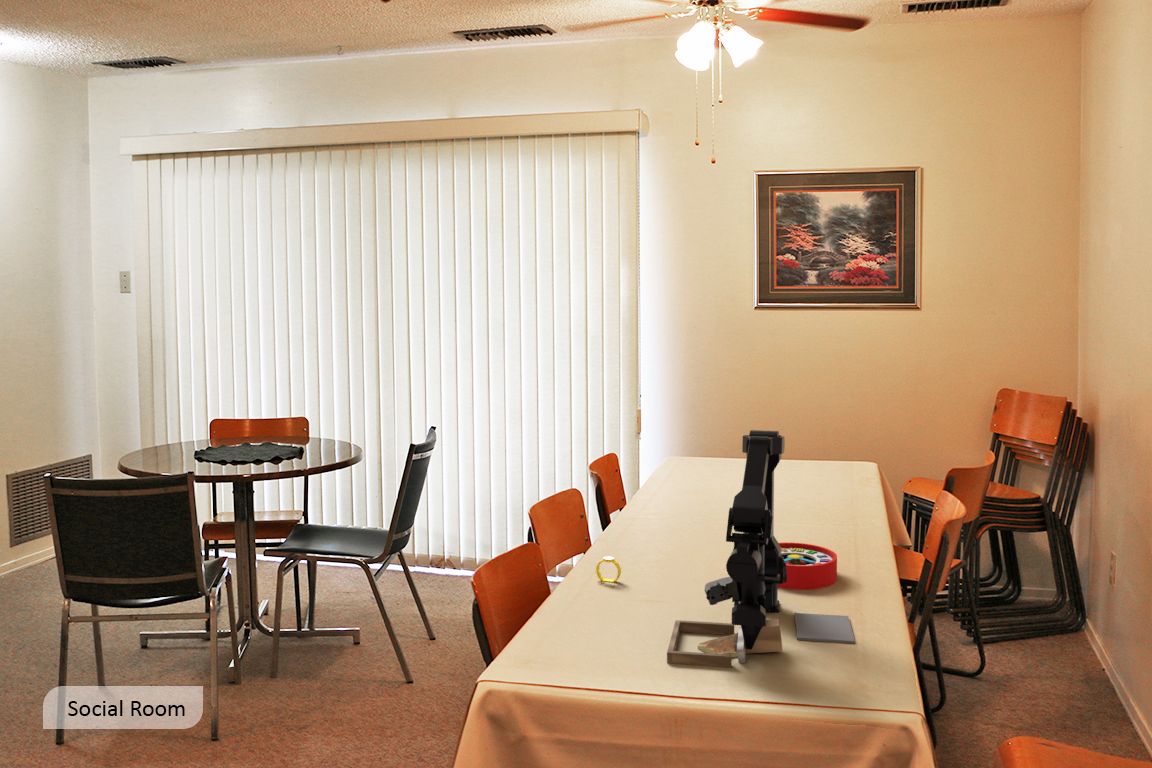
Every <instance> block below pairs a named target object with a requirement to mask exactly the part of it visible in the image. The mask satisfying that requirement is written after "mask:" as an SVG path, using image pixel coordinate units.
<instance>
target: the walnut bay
mask: <svg viewBox="0 0 1152 768" xmlns="http://www.w3.org/2000/svg"><path fill="white" fill-rule="evenodd" d="M681 632H682V633H683V632H684V633H696V634H697V633H698V634H710V635H711V634H712V635H713V634H714V635H726V636H729V635H732V634H735V625H733V624H732V622H730V623H728V622H711V621H710V622H709V621H694V620H681V619H679V620H678V619H675V621H674V625H673V628H672V632H671V635H670V636H671V637H670V640H669V643H668V648H667V651H666V663H667V664H678V665H679V664H680V665H694V666H695V665H696V666H707V667H708V666H709V667H723V668H732V663H733V662H732V661H733V657H732V655H727V654H712V653H705V652H698V651H697V652H693V651H680V650H676V649H677V646H678V641H679V639H680V638H679V637H680V633H681Z"/></svg>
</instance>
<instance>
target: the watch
mask: <svg viewBox="0 0 1152 768" xmlns="http://www.w3.org/2000/svg"><path fill="white" fill-rule="evenodd" d="M603 562H604V563H612V564H614V566H615V567H616V569H617V575H616V578H615V579H609V578H605V577H604V576H603V575H601V571H600V566H601V564H602V563H603ZM595 573H596V575H597V577H598V579H599V580H600V582H604V583H605V582H606V583H615V582H617V581H618V580H619V579H620V577H621V574H622V567H621V565H620V564H619V562H618V561H617V560H616V559H615V557H613V556H611V555H610V556H603V557H602V559H601V560H599V561H598V563H597V565H596V566H595Z"/></svg>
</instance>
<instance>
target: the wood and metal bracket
mask: <svg viewBox="0 0 1152 768" xmlns="http://www.w3.org/2000/svg"><path fill="white" fill-rule="evenodd" d="M737 633H738V642H737V655H738V657H737V661H738V664H743V663H744V664H745V663H746V654H758V653H759V654H761V653H772V652H773V653H775V652H776V653H777V652H783V642H782V635H781V634H782V633H781V627H780V619H779V618H778V619H766V626H763V627H762V628H761V630H760V632H759V635H758V637H757V639H756V641H755V644H754V646H753V648H752V649H746V646H745V641H744V637H743V632H742V628H741V626H738V630H737Z"/></svg>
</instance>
